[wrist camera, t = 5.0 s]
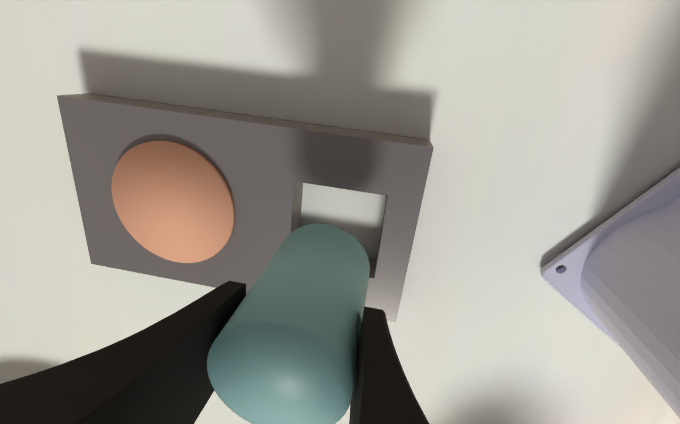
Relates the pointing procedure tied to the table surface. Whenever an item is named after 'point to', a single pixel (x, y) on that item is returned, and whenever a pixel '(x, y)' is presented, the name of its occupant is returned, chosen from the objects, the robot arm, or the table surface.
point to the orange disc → (173, 201)
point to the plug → (296, 332)
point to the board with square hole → (245, 184)
